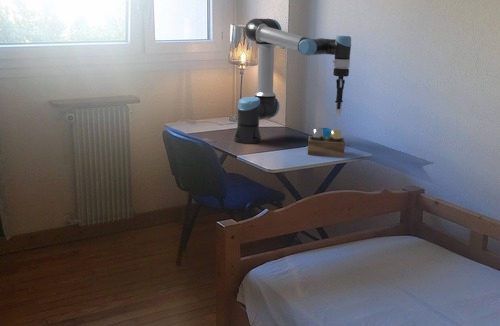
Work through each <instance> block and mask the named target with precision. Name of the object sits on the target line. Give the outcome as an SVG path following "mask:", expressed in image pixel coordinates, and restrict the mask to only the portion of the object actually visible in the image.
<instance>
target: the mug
mask: <svg viewBox="0 0 500 326" xmlns="http://www.w3.org/2000/svg"><path fill="white" fill-rule="evenodd" d="M319 128H320V129H323V137H331V130H333V129H332V128H330V127H329V128H328V127H319Z"/></svg>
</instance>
